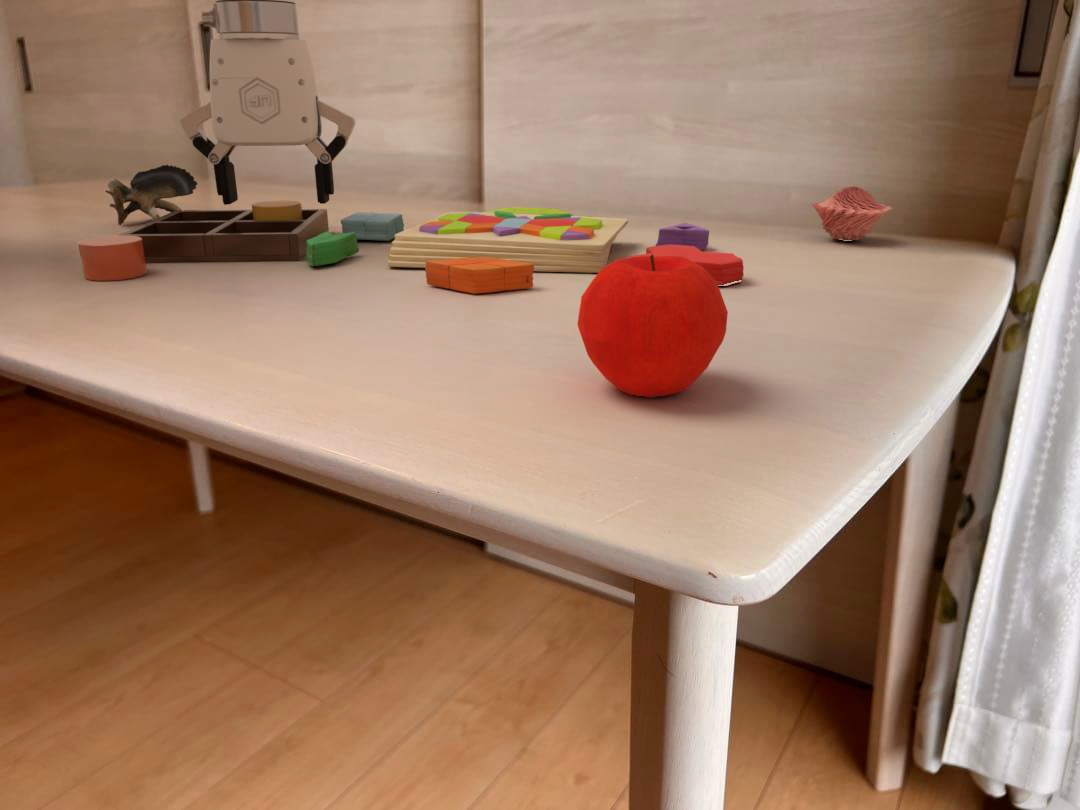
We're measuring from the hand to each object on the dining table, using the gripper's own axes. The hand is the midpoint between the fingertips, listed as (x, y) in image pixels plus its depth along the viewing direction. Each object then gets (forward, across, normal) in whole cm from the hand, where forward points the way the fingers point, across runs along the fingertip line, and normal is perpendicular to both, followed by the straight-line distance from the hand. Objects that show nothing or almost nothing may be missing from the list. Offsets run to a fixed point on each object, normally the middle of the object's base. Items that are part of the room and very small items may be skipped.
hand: (277, 202), depth 90 cm
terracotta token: (+4, -10, -17) cm, 21 cm away
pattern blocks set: (+4, +25, -10) cm, 27 cm away
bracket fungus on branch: (+4, -17, +13) cm, 22 cm away
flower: (+4, +60, -5) cm, 60 cm away
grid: (+4, -4, -4) cm, 7 cm away
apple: (+4, +31, -49) cm, 58 cm away
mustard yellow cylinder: (+3, 0, 0) cm, 3 cm away
